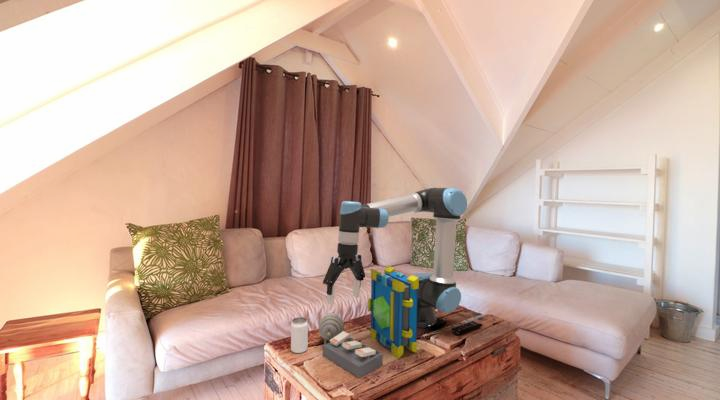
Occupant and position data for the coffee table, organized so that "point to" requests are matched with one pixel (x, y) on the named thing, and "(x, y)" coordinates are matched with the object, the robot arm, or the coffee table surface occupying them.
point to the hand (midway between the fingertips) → (343, 300)
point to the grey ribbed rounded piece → (330, 326)
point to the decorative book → (394, 310)
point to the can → (299, 335)
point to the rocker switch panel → (352, 358)
